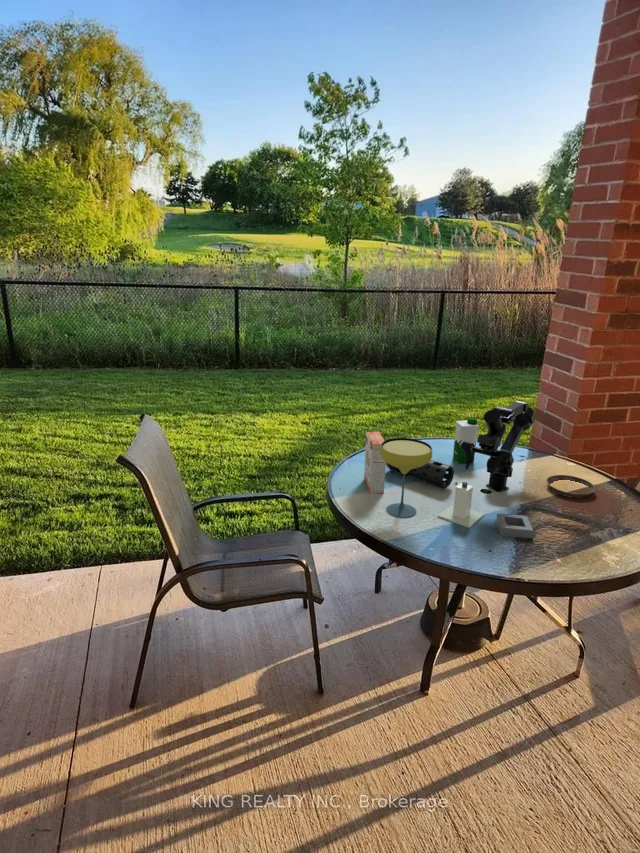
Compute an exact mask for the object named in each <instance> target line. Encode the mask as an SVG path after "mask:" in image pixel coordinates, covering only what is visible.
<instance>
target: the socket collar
mask: <svg viewBox="0 0 640 853" xmlns="http://www.w3.org/2000/svg"><path fill="white" fill-rule="evenodd" d="M495 522H496V525H497V529H498V532H499V533H500V534H499V535H500V536H502V537H503V536H504V537H511V538H512V537H513V538H524V539H533V534H534V529H533V526H532V524H531V522H530V520H529V516H527V515H521V514H520V515H518V514H508V513H507V514H506V513H498V512H497V513H496V519H495Z"/></svg>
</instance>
